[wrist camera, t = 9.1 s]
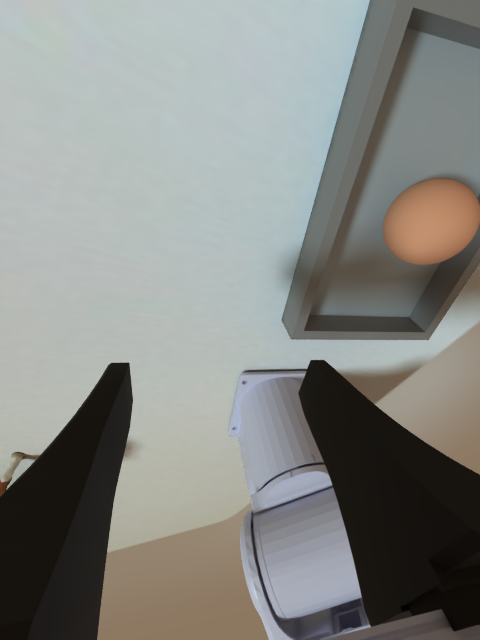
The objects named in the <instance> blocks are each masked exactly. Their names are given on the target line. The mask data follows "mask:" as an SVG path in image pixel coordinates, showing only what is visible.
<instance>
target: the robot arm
mask: <svg viewBox="0 0 480 640" xmlns="http://www.w3.org/2000/svg"><path fill="white" fill-rule="evenodd" d="M243 381H244V382H243ZM132 403H133V397H132V386H131V376H130V366H129V363H111V364H109V365H108V367H107V368H106V370H105V372H104V373H103V375H102V377H101V378H100V380H99V381H98V383H97V384H96V386H95V387H94V389H93V390H92V392H91V393H90V395H89V396H88V397H87V399H86V400H85V402H84V403H83V404H82V406H81V407H80V408H79V410H78V411H77V412H76V414H75V415H74V416H73V418H72V419H71V420H70V421H69V422H68V424H67V425H66V426H65V427H64V429H63V430H62V431H61V432H60V433H59V435H58V436H57V437H56V438H55V439H54V441H53V442H52V443H51V444H50V445H49V446H48V447H47V449H46V450H45V451H44V452H43V453H42V454H41V455H40V456H39V457H38V458H37V459H36V460H35V462H34V463H33V464H32V465H31V466H30V467H29V468H28V469H27V470H26V471H25V472H24V473H23V474H22V475H21V476H20V477H19V478H18V479H17V480H16V481H15V482H14V483H13V484H12V485H11V486H10V487H9V488H8V489H7V490H6V491H5V492H4V493H3V494H2V495H1V496H0V640H97V634H98V625H99V615H100V606H101V597H102V589H103V580H104V571H105V563H106V555H107V547H108V539H109V531H110V524H111V517H112V509H113V502H114V497H115V491H116V486H117V482H118V477H119V473H120V469H121V464H122V460H123V455H124V451H125V446H126V442H127V437H128V433H129V428H130V421H131V413H132ZM228 433H229V436H232V437H233V436H238V439H239V445H240V450H241V455H242V461H243V466H244V472H245V477H246V482H247V487H248V491H249V493H250V495H251V496H250V499H251V504H252V509H253V510H251V511H248V512H247V513H246V514H245V517H244V521H243V524H242V527H241V531H240V546H241V547H240V548H241V556H242V563H243V569H244V574H245V577H246V582H247V586H248V589H249V592H250V596H251V598H252V601H253V603H254V606H255V608H256V610H257V611H258V613H259V615H260V616H261V619H262V621H263V624H264V627H265V630H266V632H267V635H268V638H269V640H480V475H479V474H477V473H475V472H473V471H472V470H470V469H468V468H466V467H465V466H463V465H461V464H459V463H458V462H456V461H454V460H453V459H451V458H449V457H447V456H446V455H444V454H443V453H441V452H440V451H438V450H436V449H435V448H433V447H432V446H430V445H428V444H427V443H425V442H424V441H422V440H421V439H419V438H418V437H417V436H415V435H414V434H412V433H411V432H409V431H408V430H407V429H405V428H404V427H402V426H401V425H400V424H398V423H397V422H396V421H394V420H393V419H392V418H390V417H389V416H388V415H387V414H385V413H384V412H383V411H382V410H381V409H379V408H378V407H377V406H376V405H374V404H373V403H372V402H371V401H370V400H368V399H367V398H366V397H365V396H364V395H363V394H362V393H360V392H359V391H358V390H357V389H356V388H355V387H354V386H353V385H351V384H350V383H349V382H348V381H347V380H346V379H345V378H344V377H343V376H342V375H340V374H339V373H338V372H337V371H336V370H335V369H334V368H333V367H332V366H330V365H329V364H328V363H327V362H326V361H325V360H311V361H310V364H309V366H308V369H307V371H279V372H244V373H242V374H241V375H240V377H239V382H238V386H237V391H236V396H235V401H234V406H233V411H232V416H231V421H230V426H229V431H228Z"/></svg>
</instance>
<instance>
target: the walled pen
mask: <svg viewBox="0 0 480 640" xmlns="http://www.w3.org/2000/svg"><path fill="white" fill-rule="evenodd" d="M437 178H444V179H451V180H455V181H458V182H460V183H462V184H464V185H466V186H467V187H468V188H469V189H470V190H472V191H473V193H474V194H475V196H476V197H477V199H478V202H479V204H480V0H370V3H369V6H368V10H367V13H366V17H365V21H364V24H363V28H362V32H361V35H360V39H359V42H358V46H357V50H356V53H355V57H354V60H353V64H352V68H351V71H350V75H349V79H348V82H347V86H346V89H345V93H344V97H343V100H342V104H341V107H340V111H339V115H338V118H337V122H336V126H335V129H334V133H333V136H332V140H331V144H330V147H329V151H328V154H327V158H326V162H325V165H324V169H323V172H322V176H321V180H320V183H319V187H318V191H317V194H316V198H315V201H314V205H313V209H312V212H311V216H310V219H309V223H308V227H307V230H306V234H305V238H304V241H303V245H302V248H301V252H300V256H299V259H298V263H297V266H296V270H295V274H294V277H293V281H292V285H291V288H290V292H289V295H288V299H287V303H286V306H285V310H284V313H283V317H282V322H283V324H284V326H285V328H286V330H287V332H288V334H289V336H290V338H291V339H327V340H429V338H430V337H431V335H432V334H433V332H434V331H435V329H436V328H437V326H438V325H439V323H440V322H441V320H442V319H443V317H444V316H445V314H446V313H447V311H448V310H449V308H450V306H451V305H452V303H453V302H454V300H455V299H456V297H457V296H458V294H459V293H460V291H461V290H462V288H463V287H464V285H465V284H466V282H467V281H468V279H469V278H470V276H471V275H472V273H473V272H474V270H475V269H476V267H477V265H478V264H479V262H480V224H479V227H478V230H477V232H476V234H475V236H474V237H473V239H472V240H471V242H470V243H469V244H468V245H467V246H466V247H465V248H464V249H463V250H462V251H461V252H459V253H458V254H456V255H455V256H453V257H451V258H449V259H447V260H445V261H442V262H439V263H435V264H428V265H418V264H412V263H408V262H405V261H403V260H401V259H399V258H398V257H396V256H395V255H394V254H393V253H392V252H391V251H390V250H389V249H388V247H387V245H386V243H385V240H384V237H383V221H384V217H385V214H386V212H387V210H388V208H389V206H390V205H391V204H392V202H393V201H394V200H395V198H396V197H397V196H398V195H399V194H401V193H402V192H403V191H404V190H406V189H407V188H409V187H411V186H412V185H414V184H417V183H419V182H421V181H425V180H429V179H437Z"/></svg>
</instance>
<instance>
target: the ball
mask: <svg viewBox="0 0 480 640" xmlns="http://www.w3.org/2000/svg"><path fill="white" fill-rule="evenodd" d="M479 224H480V204H479V202H478V199H477V197H476V196H475V194H474V193H473V191H472V190H470V189H469V188H468V187H467V186H466V185H464V184H462V183H460V182H458V181H455V180H451V179H444V178H437V179H429V180H425V181H421V182H419V183H417V184H414V185H412V186H411V187H409V188H407V189H406V190H404V191H403V192H402V193H401V194H399V195H398V196H397V197H396V198H395V200H394V201H393V202H392V204H391V205H390V206H389V208H388V210H387V212H386V214H385V217H384V221H383V237H384V240H385V243H386V245H387V247H388V249H389V250H390V251H391V252H392V253H393V254H394V255H395V256H396V257H398V258H399V259H401V260H403V261H405V262H408V263H412V264H418V265H428V264H435V263H439V262H442V261H445V260H447V259H449V258H451V257H453V256H455V255H456V254H458V253H459V252H461V251H462V250H463V249H464V248H465V247H466V246H467V245H468V244H469V243H470V242H471V240H472V239H473V237H474V236H475V234H476V232H477V230H478V227H479Z"/></svg>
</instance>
